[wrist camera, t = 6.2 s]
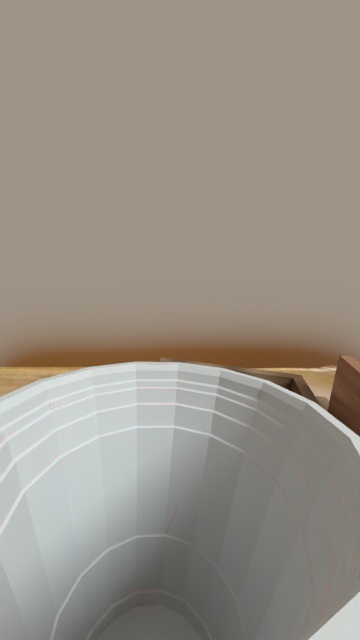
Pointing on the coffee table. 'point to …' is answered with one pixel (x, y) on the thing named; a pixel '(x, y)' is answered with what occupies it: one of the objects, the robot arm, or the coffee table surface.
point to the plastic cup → (176, 509)
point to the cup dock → (346, 397)
